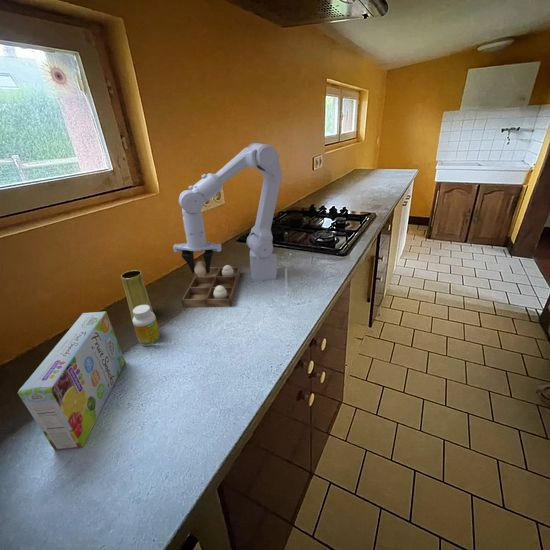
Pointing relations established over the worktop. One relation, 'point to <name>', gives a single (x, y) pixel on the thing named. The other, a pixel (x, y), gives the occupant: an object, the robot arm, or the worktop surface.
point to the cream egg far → (227, 271)
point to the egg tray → (211, 289)
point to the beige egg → (200, 269)
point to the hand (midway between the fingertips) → (201, 271)
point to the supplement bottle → (145, 325)
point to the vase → (135, 290)
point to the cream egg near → (220, 292)
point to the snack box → (74, 381)
